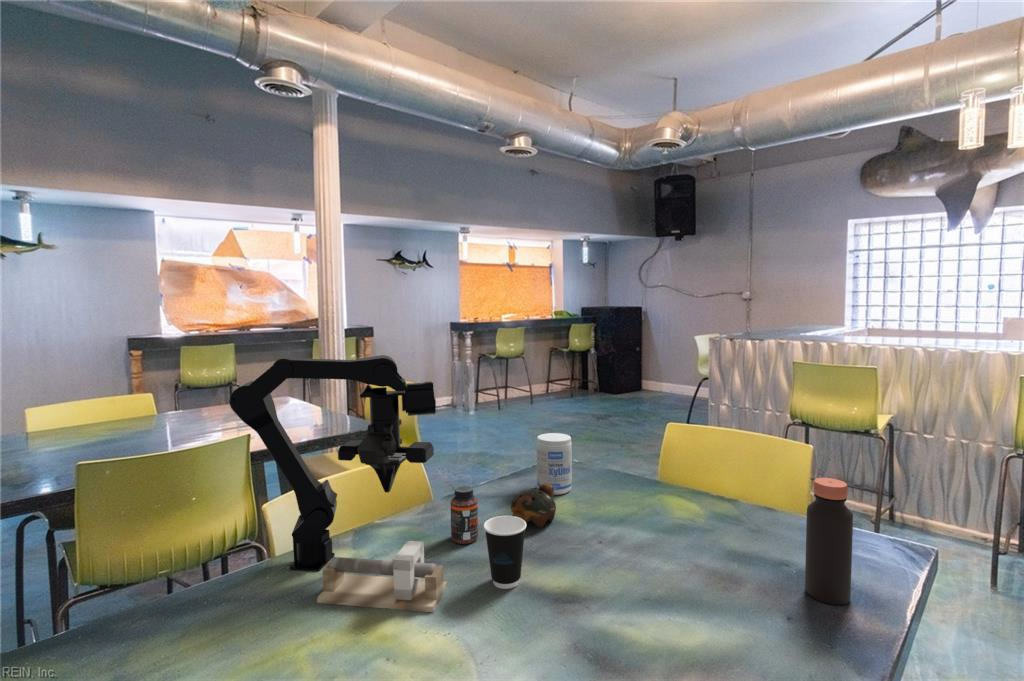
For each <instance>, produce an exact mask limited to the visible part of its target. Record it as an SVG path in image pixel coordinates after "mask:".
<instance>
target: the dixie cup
mask: <svg viewBox="0 0 1024 681" xmlns="http://www.w3.org/2000/svg"><path fill="white" fill-rule="evenodd" d="M482 527H483V530H484V531H485V539H486V546H487V553H488V560H489V561H488V562H489V568H490V569H489V570H490V576H491V579H492V580H493V581H492V583H493V585H494V586H495V587H496V588H499V589H501V590H502V589H503V590H504V589H505V590H507V589H514V588H515V587H517V586H518V585H519V584H520V579H521V575H522V565H523V564H522V563H523V553H524V544H525V533H526V532H525V530H526V528H527V523H526V522H525V521H524V520H523V519H521V518H519V517H515V516H512V515H499V516H493V517H491V518H489V519H487V520H486V521H485V522H484V524H483V526H482ZM518 583H519V584H518Z"/></svg>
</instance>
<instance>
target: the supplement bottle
mask: <svg viewBox="0 0 1024 681" xmlns="http://www.w3.org/2000/svg"><path fill="white" fill-rule="evenodd" d="M478 502H479V501H478V499H477V497H476V496H475V495H474V488H473V487H472V486H470V485H460V486H456V487H455V488H454V496H453V497H452V498H451V500H450V536H451V537H450V538H451V541H453V542H454V543H457V544H460V545H461V544H462V545H468V544H471V543H474V542H476V541H477V540H478V538H479V504H478Z"/></svg>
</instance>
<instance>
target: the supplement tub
mask: <svg viewBox="0 0 1024 681" xmlns="http://www.w3.org/2000/svg"><path fill="white" fill-rule="evenodd" d="M536 438H537V439H536V440H537V441H536V488H537V489H538V488H539V486H541V485H542V484H545V483H549V484H551V485H552V486H553V490H554V495H555V496H556V495H557V496H558V495H564V494H568V493H569V492H570V491H571V489H572V487H573V486H572V485H573V484H572V483H573V482H572V480H573V479H572V477H573V473H572V472H573V469H572V467H573V466H572V465H573V464H572V460H573V459H572V458H573V457H572V456H573V455H572V452H573V451H572V449H573V448H572V444H573V443H572V437H571V436H570V435H569V434H566V433H561V432H560V433H559V432H548V433H542V434H539V435H537V437H536Z"/></svg>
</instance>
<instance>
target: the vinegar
mask: <svg viewBox="0 0 1024 681" xmlns="http://www.w3.org/2000/svg"><path fill="white" fill-rule="evenodd" d="M848 487H849V486H848V483H846V482H844V481H843V480H841V479H837V478H831V477H817V478H815V479H814V480H813V496H814V497H815V500H813V501H812V502H810V503H809V504H808V505H807V508H806V528H805V529H806V530H805V533H806V534H805V563H804V564H805V565H804V566H805V568H804V570H805V571H804V572H805V573H804V590H805V592H806V594H808V595H809V596H810V597H811V598H813V599H814V600H816V601H819V602H821V603H822V604H823V603H824V604H827V605H833V606H843V605H847V604H848V603H849V602H850V601H851V596H852V594H851V593H852V592H851V590H852V563H853V562H852V561H853V560H852V559H853V535H854V533H853V532H854V531H853V530H854V527H853V526H854V514H853V512H852V511H851V510H850V509H849V508H848V507H847V506H846V505H845V503H846V502H847V500H848Z"/></svg>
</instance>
